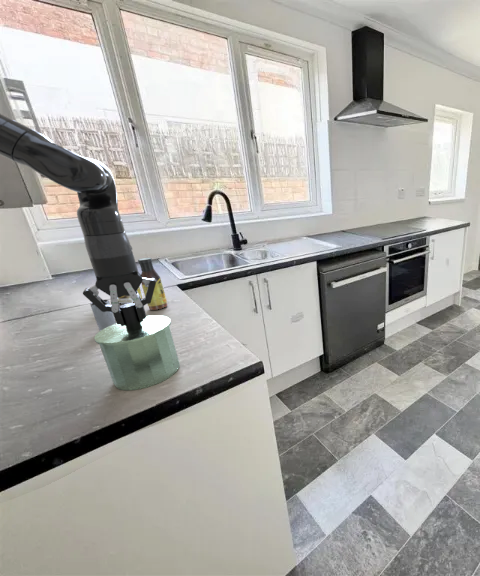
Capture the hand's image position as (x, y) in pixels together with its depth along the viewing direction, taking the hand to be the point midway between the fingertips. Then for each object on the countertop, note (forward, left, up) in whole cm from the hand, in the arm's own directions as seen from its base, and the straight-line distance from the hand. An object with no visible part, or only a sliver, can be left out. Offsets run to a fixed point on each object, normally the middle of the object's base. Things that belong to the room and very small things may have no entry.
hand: (133, 322), depth 75 cm
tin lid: (0, 0, -2) cm, 2 cm away
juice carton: (-7, +70, -15) cm, 72 cm away
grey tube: (-11, +39, -15) cm, 43 cm away
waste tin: (0, 0, -15) cm, 15 cm away
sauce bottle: (+3, +53, -15) cm, 55 cm away
